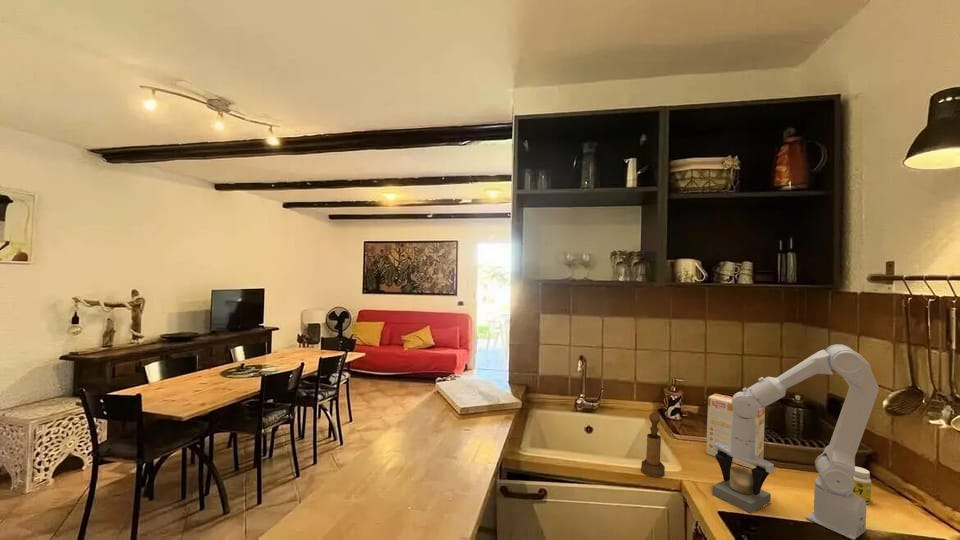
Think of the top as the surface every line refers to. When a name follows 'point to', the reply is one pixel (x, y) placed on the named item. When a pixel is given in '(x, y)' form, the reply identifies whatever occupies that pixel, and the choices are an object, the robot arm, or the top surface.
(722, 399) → the coffeecake box
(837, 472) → the robot arm
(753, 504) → the grey slotted base
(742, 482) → the beech peg
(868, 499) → the supplement bottle
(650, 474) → the mortar and pestle
